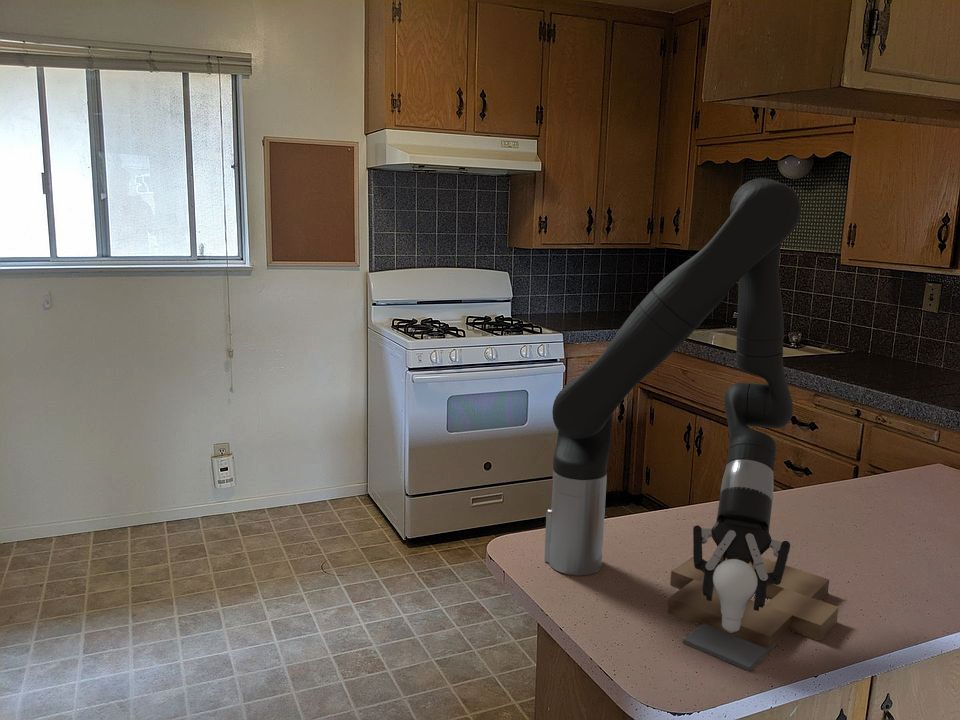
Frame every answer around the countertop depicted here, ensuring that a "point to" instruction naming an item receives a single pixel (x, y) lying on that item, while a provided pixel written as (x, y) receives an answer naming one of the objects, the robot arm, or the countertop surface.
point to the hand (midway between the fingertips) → (732, 603)
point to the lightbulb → (734, 590)
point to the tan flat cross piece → (785, 612)
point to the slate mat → (726, 646)
